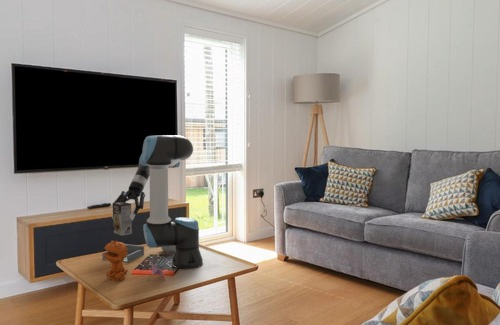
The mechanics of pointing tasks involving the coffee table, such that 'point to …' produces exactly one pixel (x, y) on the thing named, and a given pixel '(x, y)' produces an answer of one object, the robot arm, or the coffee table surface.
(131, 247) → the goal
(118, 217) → the coffee box
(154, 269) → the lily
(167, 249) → the teacup
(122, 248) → the orange figurine
